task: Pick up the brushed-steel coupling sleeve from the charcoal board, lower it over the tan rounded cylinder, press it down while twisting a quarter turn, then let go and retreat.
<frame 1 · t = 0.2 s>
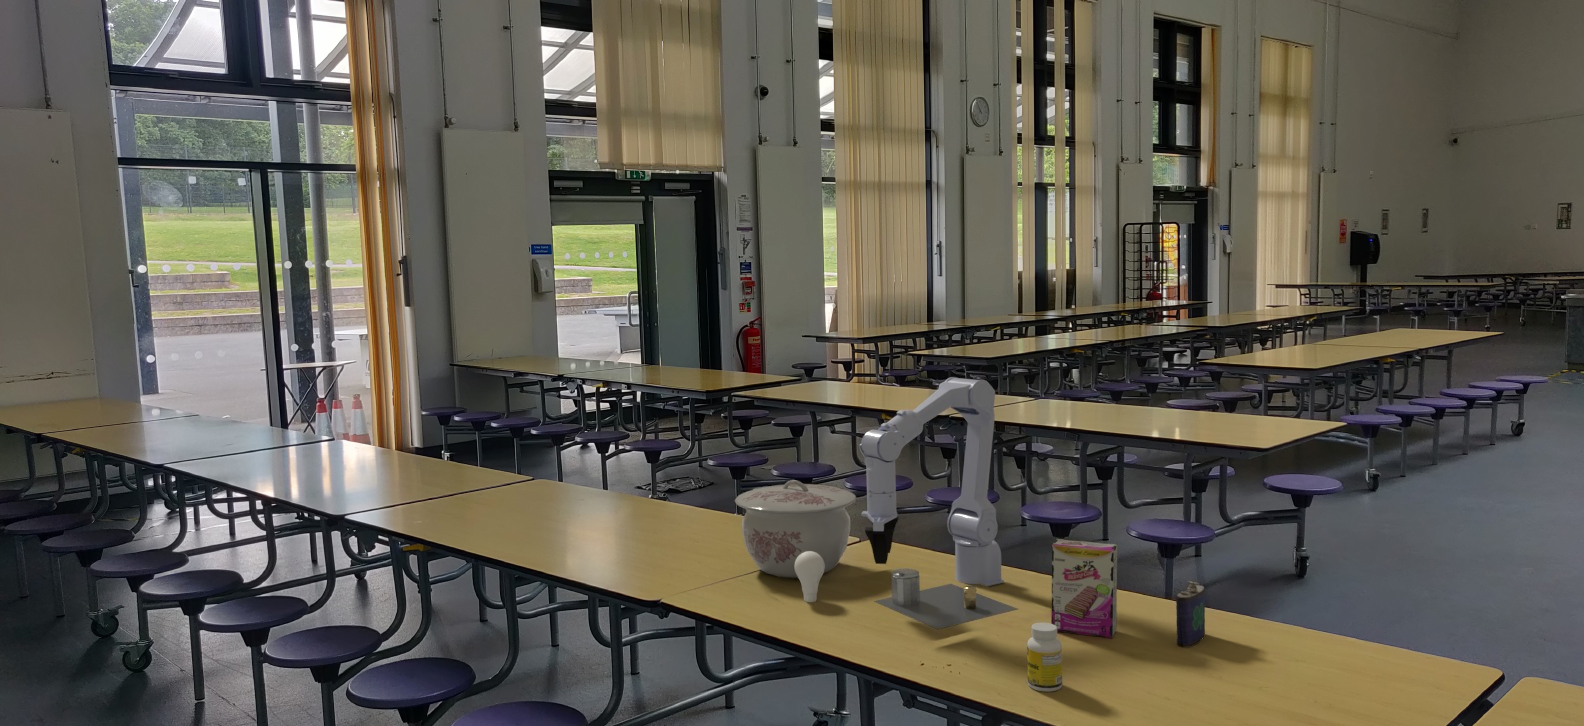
hand: (882, 557, 204), 10 cm above the table, fingers open, 7 cm apart
flask: (1191, 641, 183), on the table
lightbulb: (810, 605, 207), on the table
supplement bottle: (1044, 687, 164), on the table
tan rounded cylinder: (969, 612, 200), resting on base board
candy bar box: (1084, 632, 189), on the table
base board: (944, 609, 202), on the table
chamber pot: (797, 570, 233), on the table
coupling: (905, 601, 205), point 1 cm above the table, touching base board
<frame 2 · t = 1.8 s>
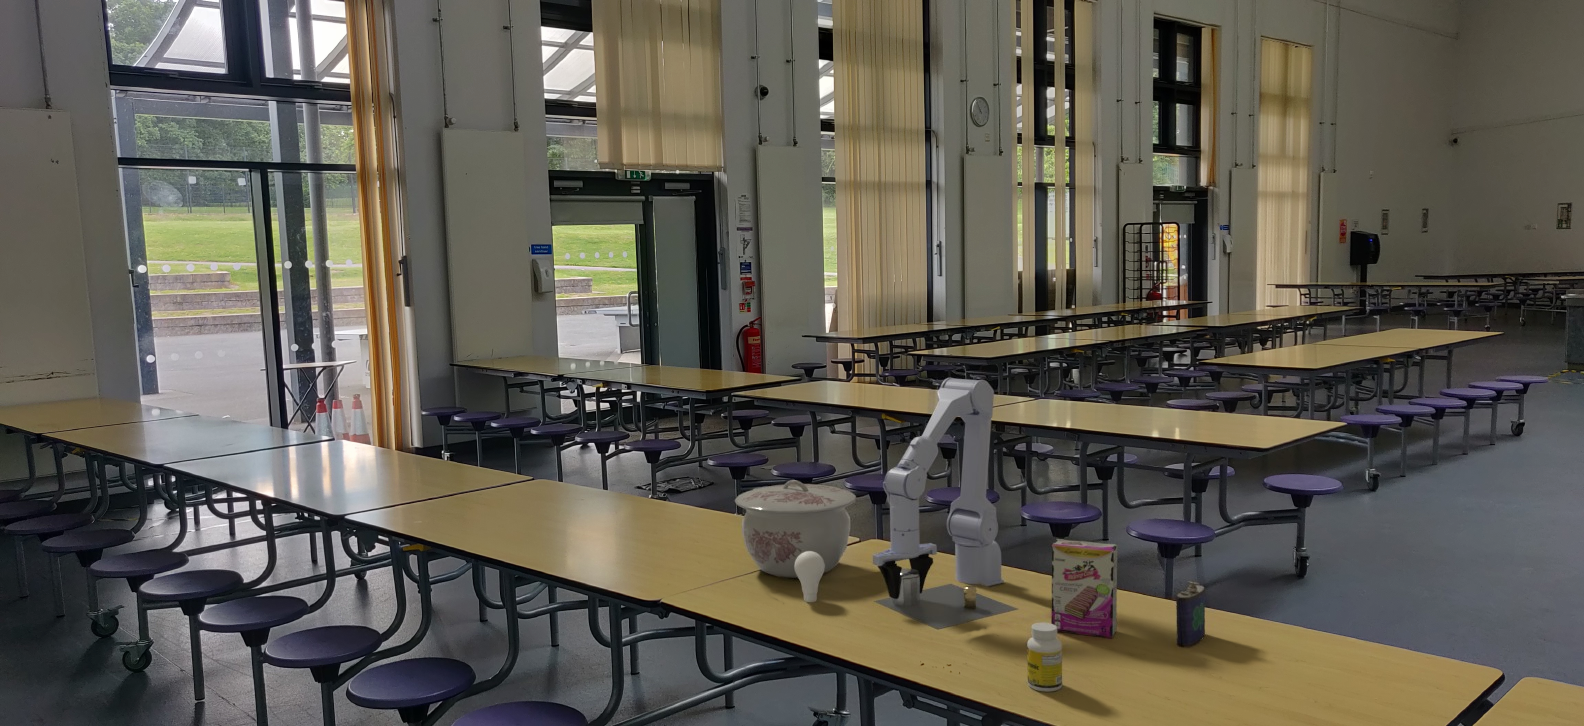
hand: (905, 594, 205), 2 cm above the table, fingers closed on coupling, 5 cm apart
coupling: (905, 601, 205), point 1 cm above the table, touching base board, gripper
everything else where it was.
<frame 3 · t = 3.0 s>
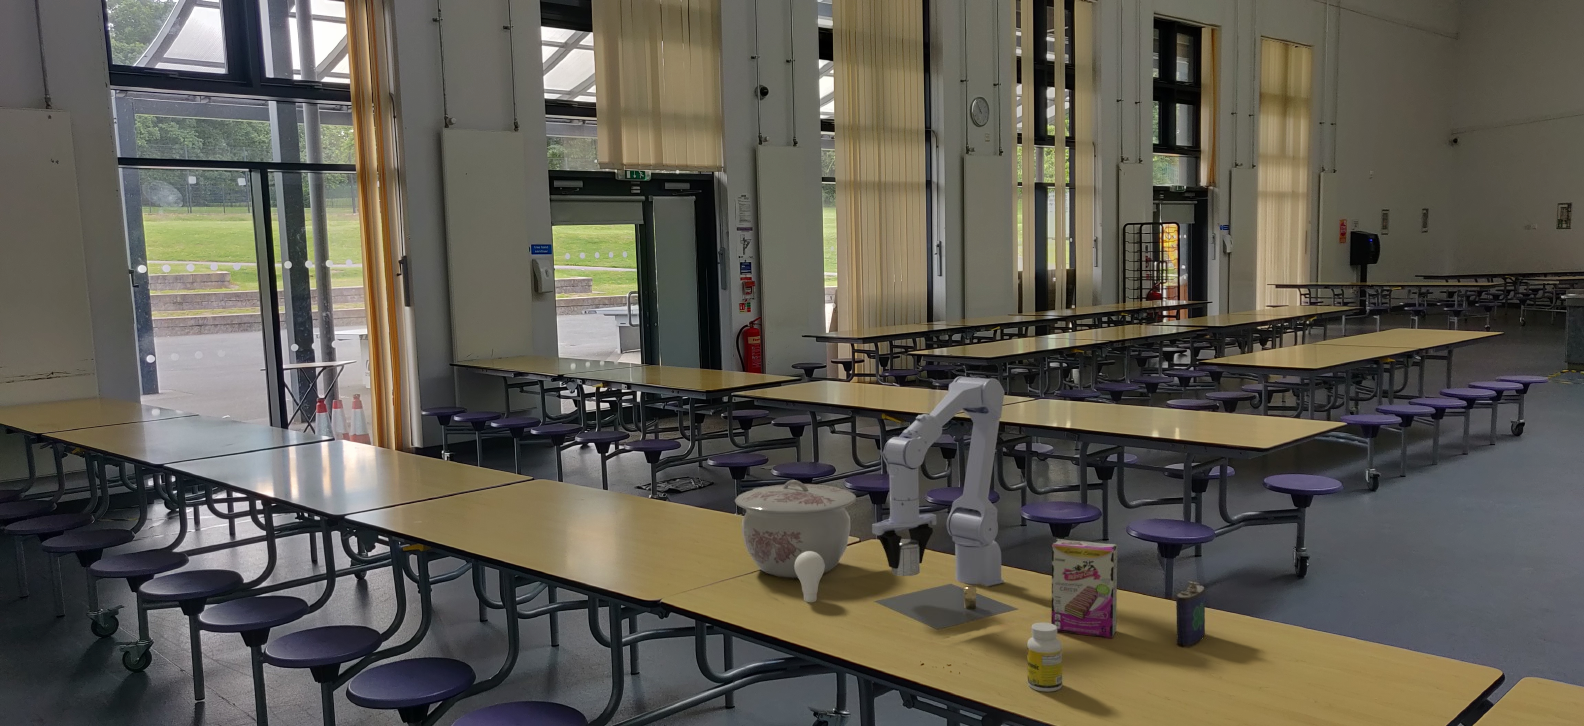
hand: (905, 564, 204), 9 cm above the table, fingers closed on coupling, 5 cm apart
coupling: (905, 571, 204), point 7 cm above the table, touching gripper
everything else where it was.
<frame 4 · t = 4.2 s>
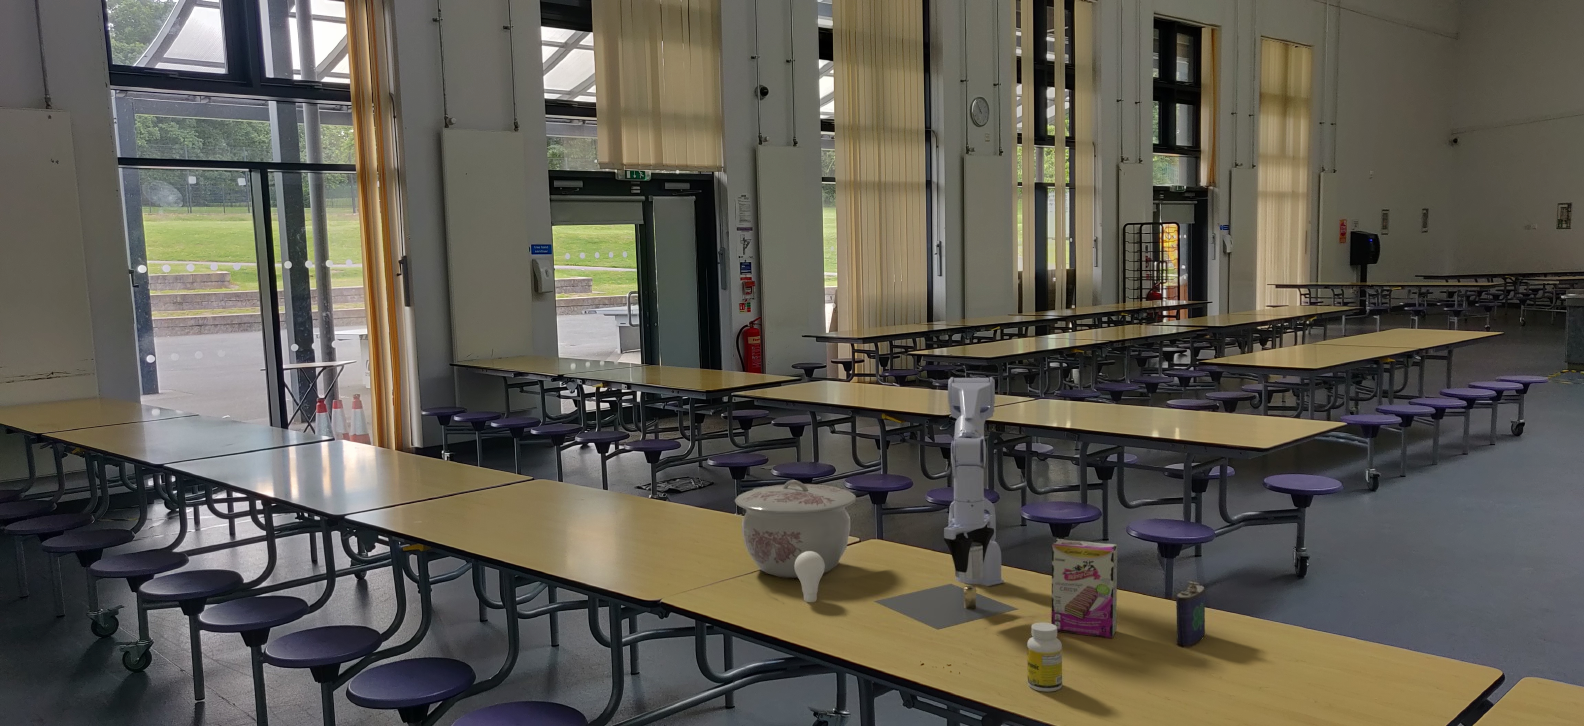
hand: (969, 567, 200), 9 cm above the table, fingers closed on coupling, 5 cm apart
coupling: (969, 575, 200), point 7 cm above the table, touching gripper
everything else where it was.
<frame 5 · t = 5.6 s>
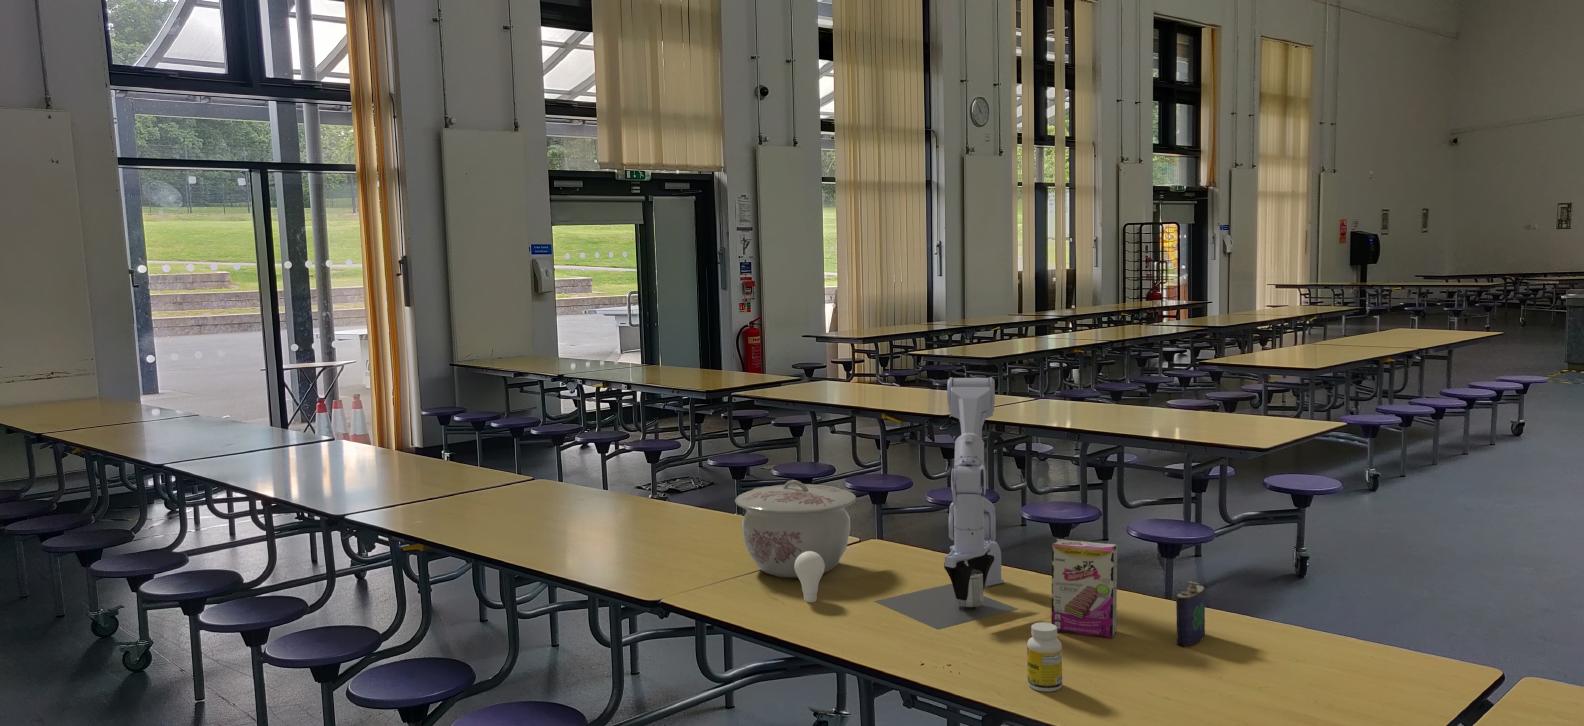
hand: (969, 595, 200), 3 cm above the table, fingers closed on coupling, 5 cm apart
coupling: (969, 602, 200), point 2 cm above the table, touching gripper
everything else where it was.
when the fingers open (2 cm above the table, at t = 6.6 s): coupling stays where it is, resting on base board.
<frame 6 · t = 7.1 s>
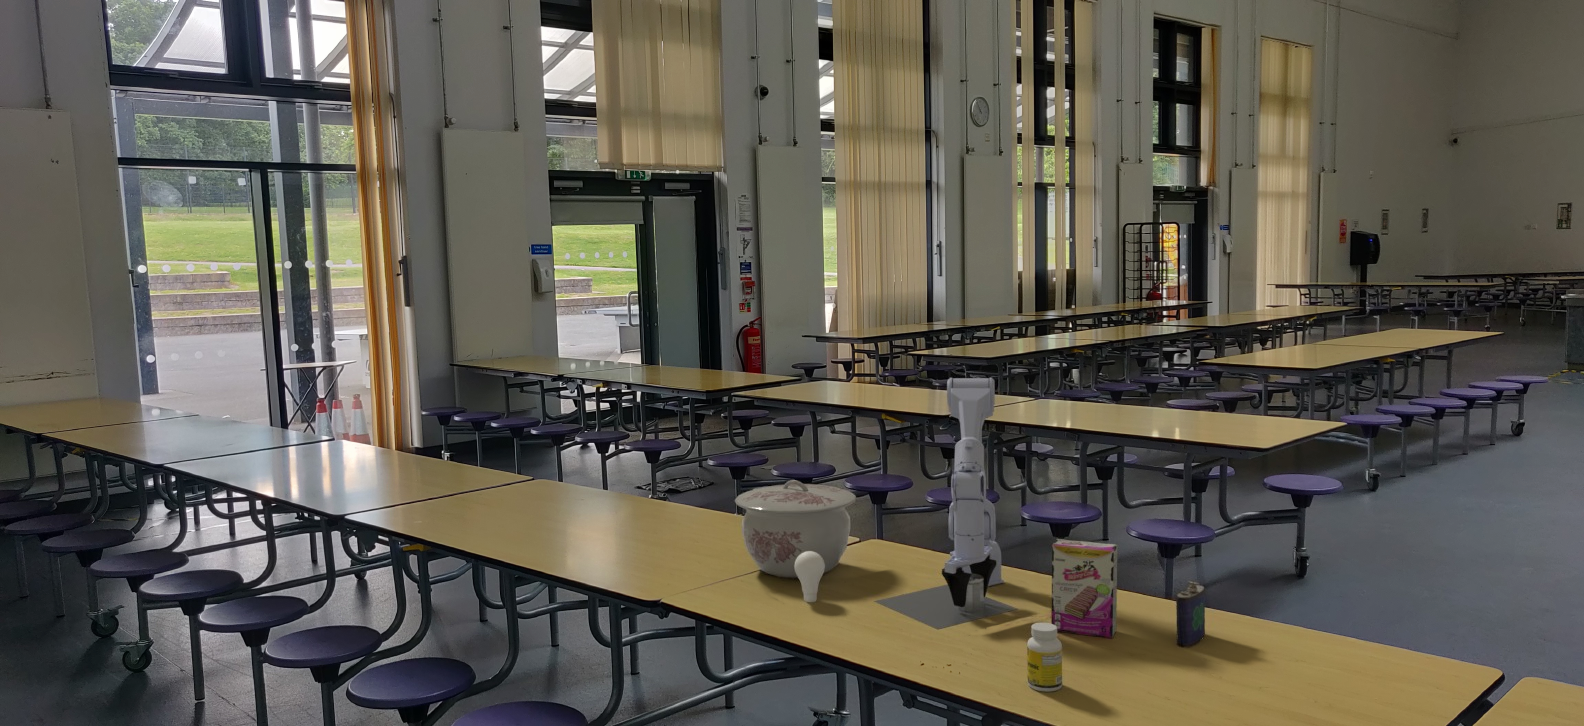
hand: (969, 600, 200), 2 cm above the table, fingers open, 7 cm apart
coupling: (969, 607, 200), point 1 cm above the table, touching base board
everything else where it was.
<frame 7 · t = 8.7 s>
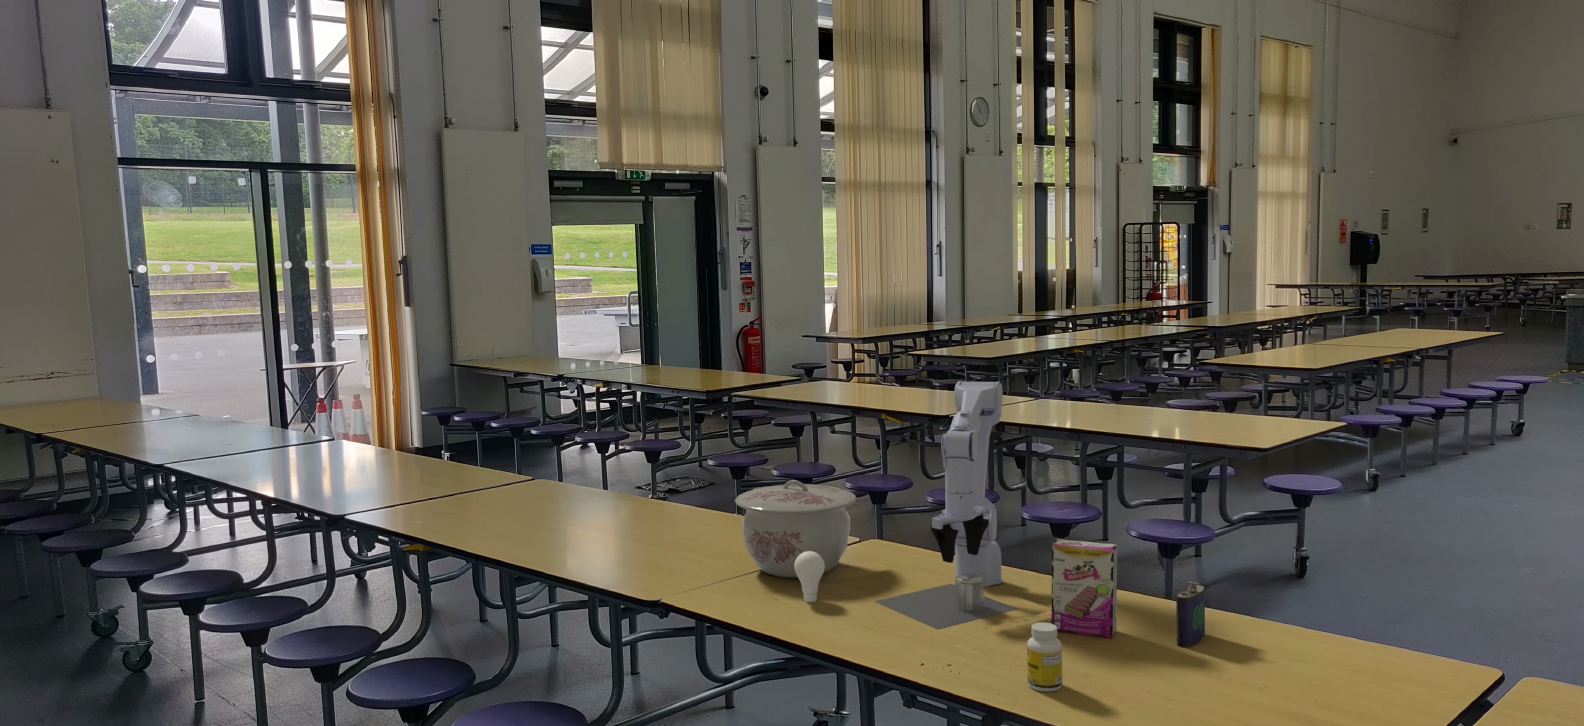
hand: (960, 557, 205), 9 cm above the table, fingers open, 7 cm apart
nothing on the table moved.
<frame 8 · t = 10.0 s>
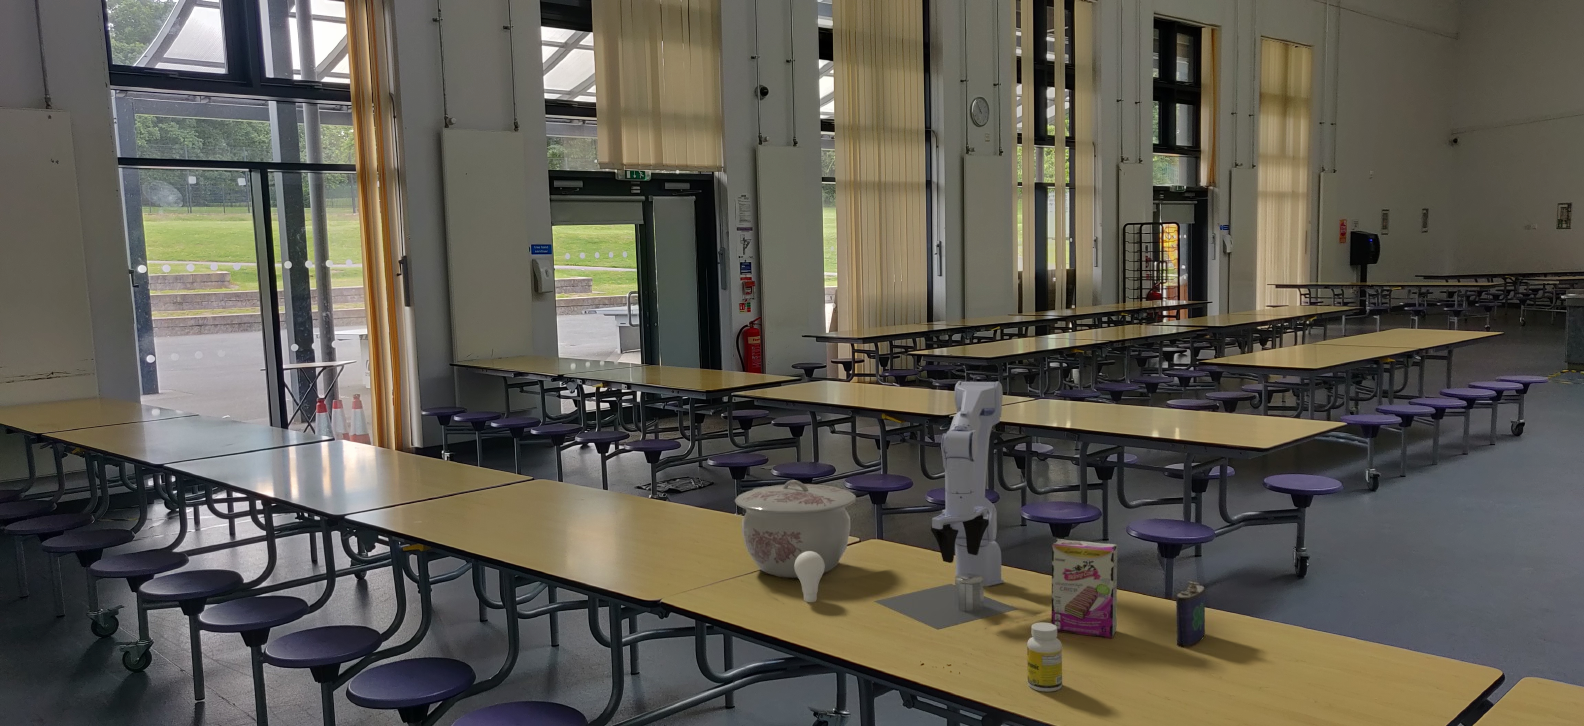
hand: (960, 557, 205), 9 cm above the table, fingers open, 7 cm apart
nothing on the table moved.
at the end: coupling 0.0 cm off-centre on the tan rounded cylinder, point 1.0 cm above the tan rounded cylinder's base; coupling tilted 0°; the gripper is holding nothing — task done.
